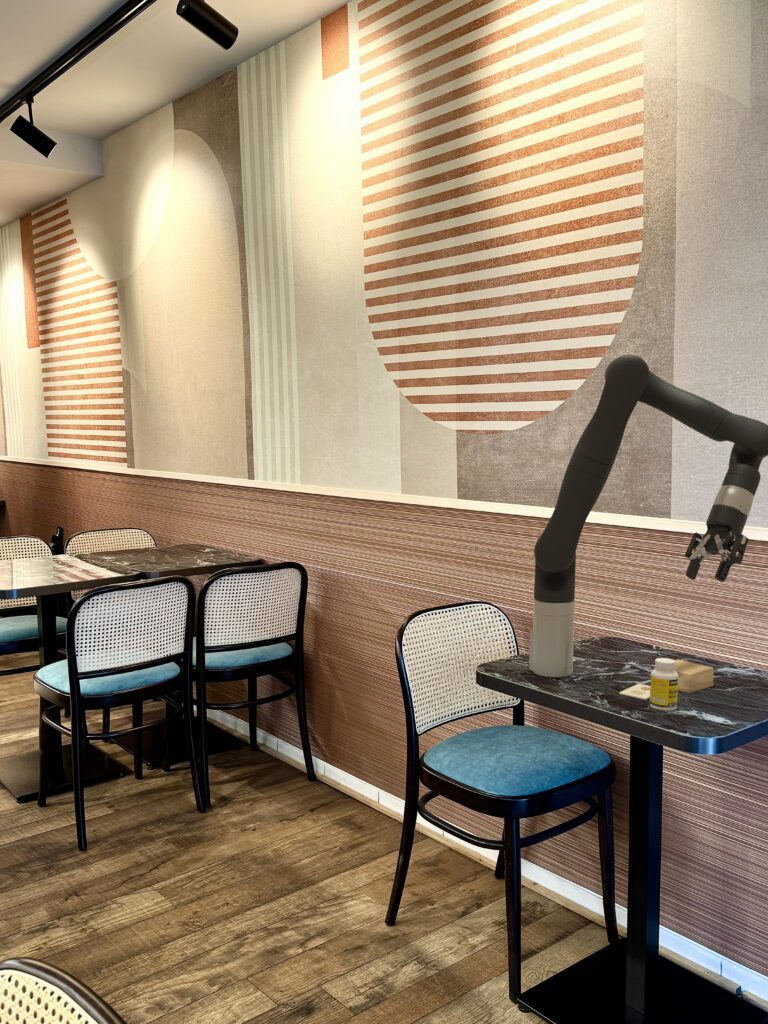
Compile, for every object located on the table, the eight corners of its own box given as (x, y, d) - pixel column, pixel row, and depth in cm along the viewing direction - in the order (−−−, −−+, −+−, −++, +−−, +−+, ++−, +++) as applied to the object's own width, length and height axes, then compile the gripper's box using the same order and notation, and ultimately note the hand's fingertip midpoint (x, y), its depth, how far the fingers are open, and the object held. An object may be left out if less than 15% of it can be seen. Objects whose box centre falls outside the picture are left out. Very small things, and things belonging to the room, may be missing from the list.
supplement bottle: (670, 713, 180) (672, 665, 179) (645, 707, 184) (646, 660, 183) (681, 706, 184) (683, 660, 183) (656, 701, 188) (657, 655, 187)
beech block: (652, 683, 201) (653, 665, 200) (677, 676, 206) (678, 659, 206) (688, 693, 193) (689, 675, 193) (713, 685, 199) (714, 668, 198)
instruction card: (619, 693, 193) (619, 692, 193) (638, 684, 199) (639, 683, 199) (645, 699, 189) (645, 697, 189) (664, 690, 195) (664, 688, 195)
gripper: (694, 503, 198) (668, 570, 195) (743, 501, 185) (716, 573, 182) (718, 519, 201) (693, 584, 198) (768, 518, 188) (742, 588, 185)
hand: (704, 579), depth 190 cm, fingers open, 8 cm apart
